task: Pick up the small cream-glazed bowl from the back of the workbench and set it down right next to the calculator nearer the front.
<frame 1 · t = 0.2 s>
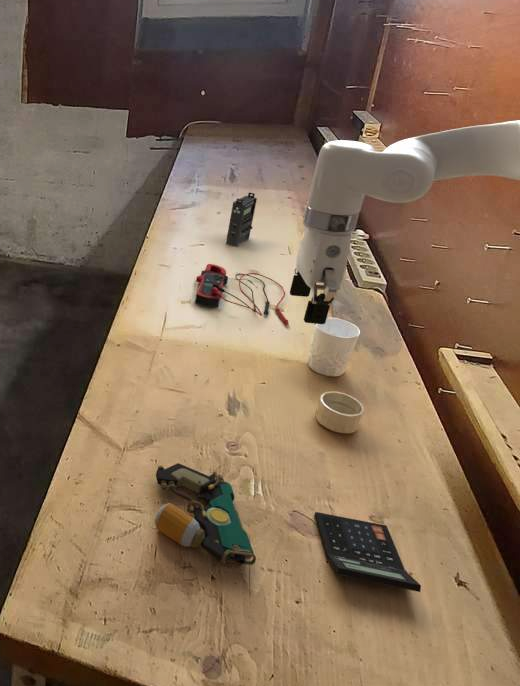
hand: (306, 308, 99), 21 cm above the table, tool pointing down, fingers open, 9 cm apart
geiger counter: (238, 242, 178), on the table
spray gun: (200, 517, 86), on the table
bowl: (335, 422, 103), on the table
digital clamp meter: (240, 297, 147), on the table
calculator: (360, 557, 79), on the table
white cup: (325, 368, 118), on the table
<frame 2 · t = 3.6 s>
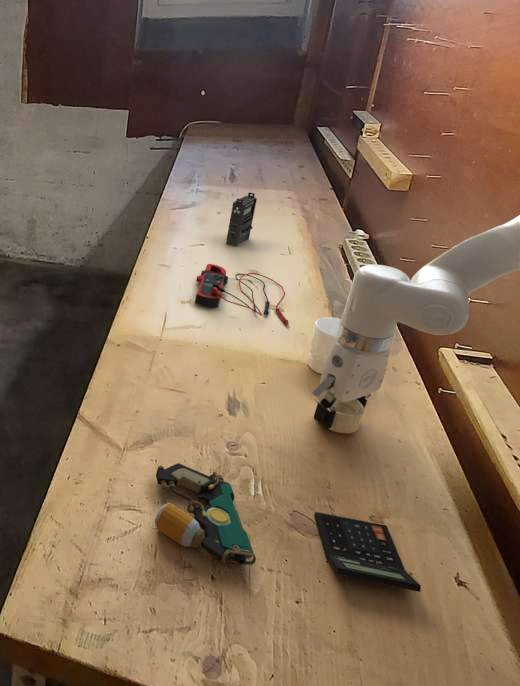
hand: (337, 417, 103), 1 cm above the table, tool pointing down, fingers closed on bowl, 6 cm apart
bowl: (335, 422, 103), on the table, touching gripper
everything else where it was.
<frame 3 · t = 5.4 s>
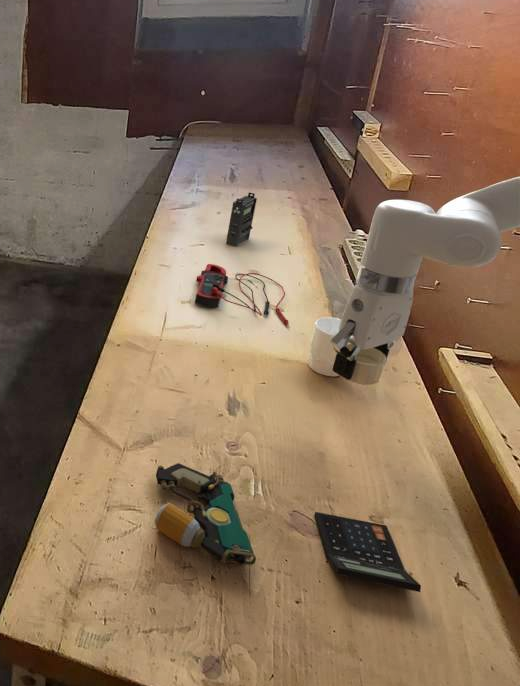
hand: (357, 369, 97), 13 cm above the table, tool pointing down, fingers closed on bowl, 6 cm apart
bowl: (356, 375, 97), point 11 cm above the table, touching gripper
everything else where it was.
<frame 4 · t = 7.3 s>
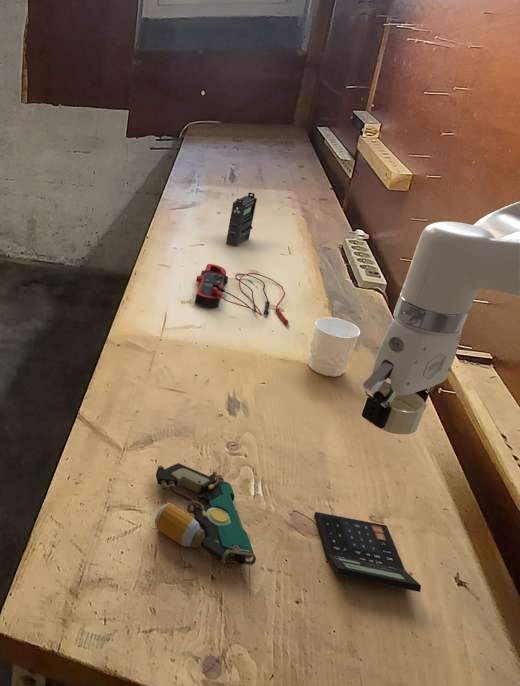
hand: (391, 414, 84), 15 cm above the table, tool pointing down, fingers closed on bowl, 6 cm apart
bowl: (388, 421, 84), point 13 cm above the table, touching gripper
everything else where it was.
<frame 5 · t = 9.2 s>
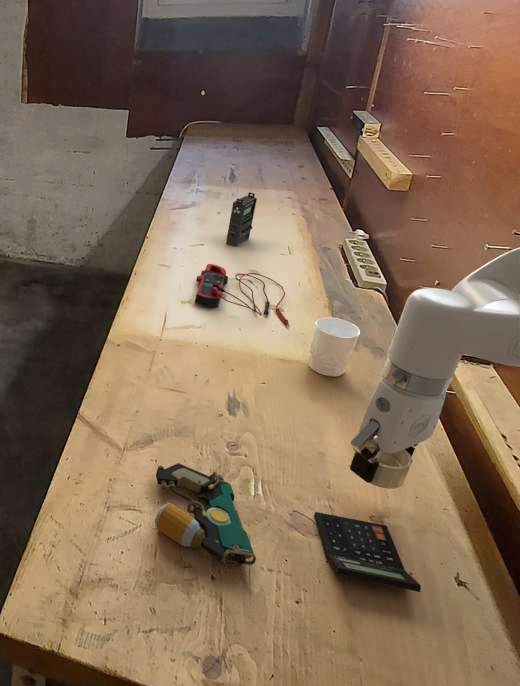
hand: (378, 467, 86), 6 cm above the table, tool pointing down, fingers closed on bowl, 6 cm apart
bowl: (375, 473, 86), point 5 cm above the table, touching gripper
everything else where it was.
when the fingers open (1 cm above the table, at t = 10.9 s): bowl stays where it is, on the table.
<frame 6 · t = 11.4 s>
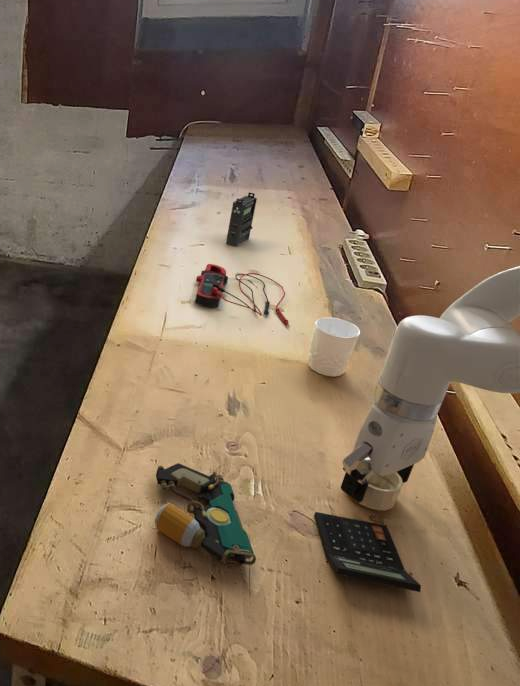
hand: (373, 485, 87), 2 cm above the table, tool pointing down, fingers open, 9 cm apart
bowl: (368, 495, 88), on the table
everything else where it was.
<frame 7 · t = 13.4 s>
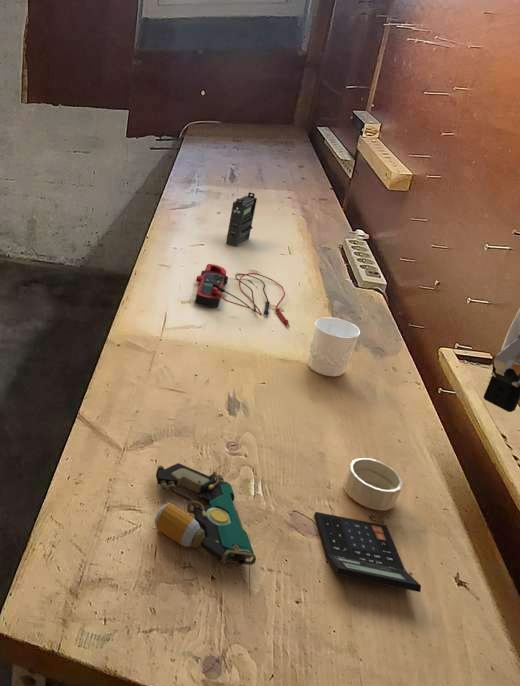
nothing on the table moved.
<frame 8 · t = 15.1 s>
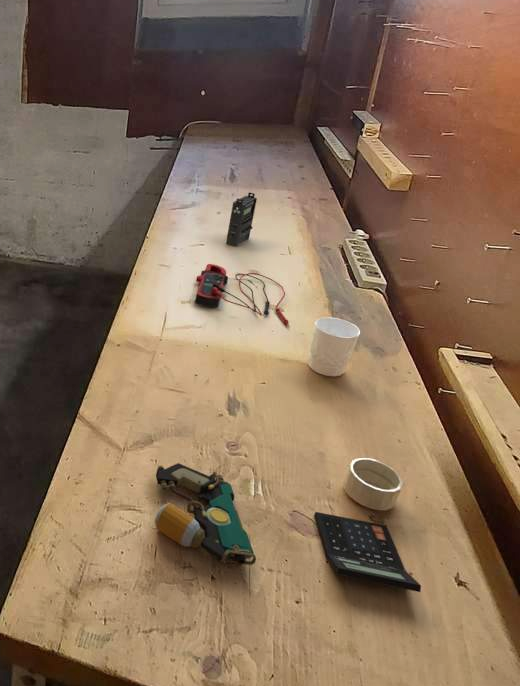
nothing on the table moved.
at the end: bowl 13.0 cm from the calculator (horizontally); bowl tilted 0°; the gripper is holding nothing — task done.
